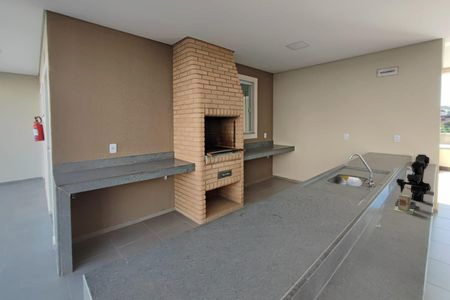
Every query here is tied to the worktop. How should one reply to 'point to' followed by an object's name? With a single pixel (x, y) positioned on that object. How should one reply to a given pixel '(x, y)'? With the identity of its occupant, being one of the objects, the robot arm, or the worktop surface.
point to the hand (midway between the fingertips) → (408, 193)
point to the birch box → (404, 202)
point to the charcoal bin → (412, 204)
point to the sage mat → (404, 211)
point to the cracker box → (409, 171)
